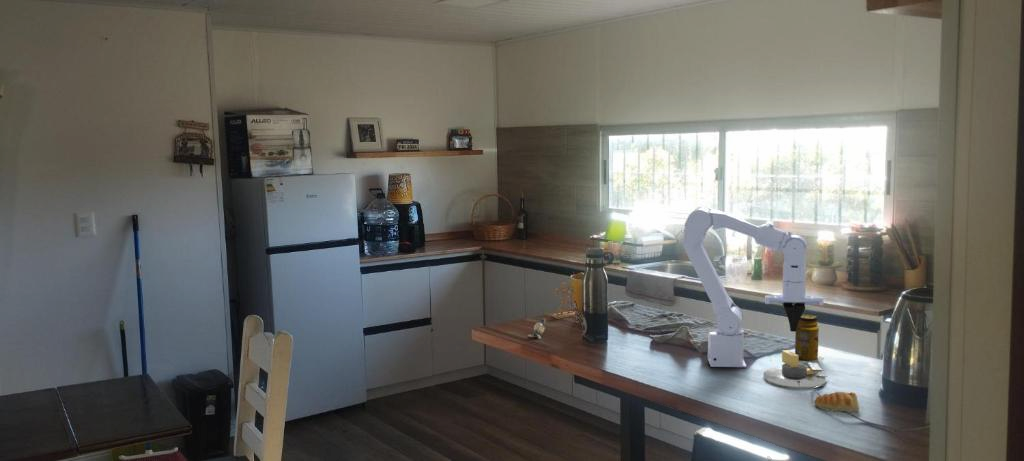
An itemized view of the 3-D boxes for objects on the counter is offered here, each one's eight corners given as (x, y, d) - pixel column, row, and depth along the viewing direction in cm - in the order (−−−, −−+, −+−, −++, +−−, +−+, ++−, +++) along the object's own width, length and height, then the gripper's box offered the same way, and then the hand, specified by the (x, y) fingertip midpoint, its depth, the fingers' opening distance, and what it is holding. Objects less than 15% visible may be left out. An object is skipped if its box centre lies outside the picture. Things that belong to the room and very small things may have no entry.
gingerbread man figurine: (573, 313, 279) (572, 280, 277) (579, 315, 275) (578, 282, 274) (551, 316, 275) (551, 283, 273) (557, 319, 271) (556, 285, 270)
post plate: (769, 388, 195) (769, 375, 194) (759, 369, 210) (759, 358, 209) (834, 389, 193) (835, 376, 192) (819, 371, 207) (820, 358, 207)
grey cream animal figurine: (537, 333, 253) (538, 315, 252) (551, 337, 250) (552, 318, 249) (527, 336, 249) (528, 318, 248) (540, 340, 246) (541, 322, 245)
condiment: (824, 358, 218) (825, 316, 217) (805, 364, 214) (806, 321, 212) (802, 352, 224) (803, 312, 223) (783, 358, 220) (784, 316, 218)
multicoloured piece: (823, 376, 199) (823, 356, 198) (788, 378, 198) (789, 359, 197) (807, 366, 207) (807, 348, 206) (774, 369, 205) (774, 350, 205)
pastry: (817, 412, 179) (817, 396, 178) (811, 402, 185) (811, 387, 185) (861, 414, 177) (861, 397, 176) (853, 403, 184) (853, 388, 183)
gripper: (821, 278, 209) (819, 327, 211) (764, 277, 213) (763, 325, 214) (825, 283, 203) (823, 334, 204) (766, 282, 206) (765, 332, 208)
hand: (793, 330), depth 209 cm, fingers closed
